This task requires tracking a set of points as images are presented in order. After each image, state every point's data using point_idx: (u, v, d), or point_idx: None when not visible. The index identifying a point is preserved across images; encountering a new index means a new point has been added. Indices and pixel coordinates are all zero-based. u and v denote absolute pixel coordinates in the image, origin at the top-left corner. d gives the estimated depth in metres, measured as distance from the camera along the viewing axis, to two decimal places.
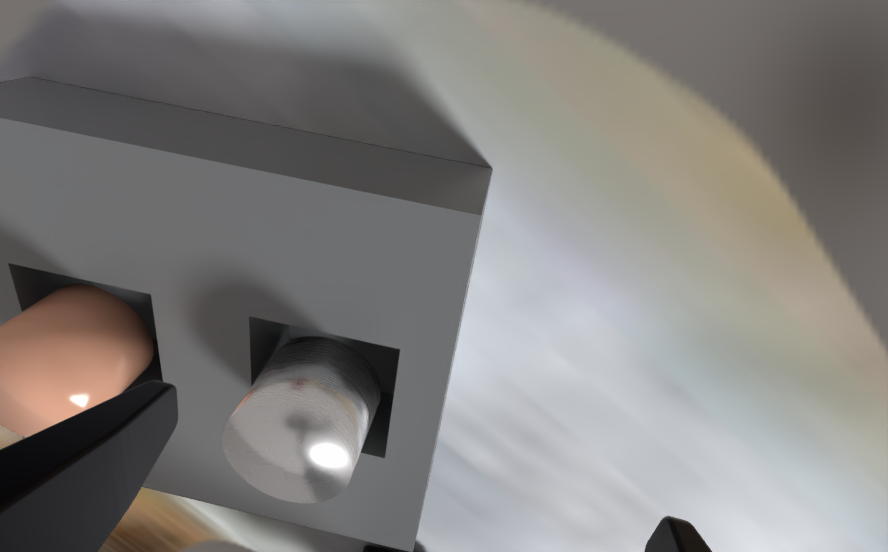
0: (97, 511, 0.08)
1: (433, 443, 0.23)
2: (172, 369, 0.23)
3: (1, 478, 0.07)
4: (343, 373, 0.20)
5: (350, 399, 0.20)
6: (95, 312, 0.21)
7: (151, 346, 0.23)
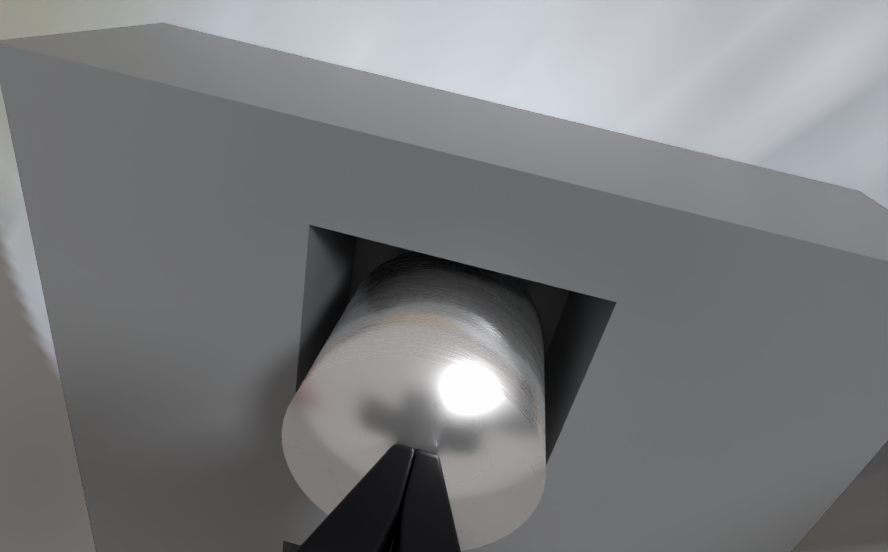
0: None
1: (569, 186, 0.09)
2: None
3: None
4: (348, 309, 0.11)
5: (357, 314, 0.10)
6: None
7: None
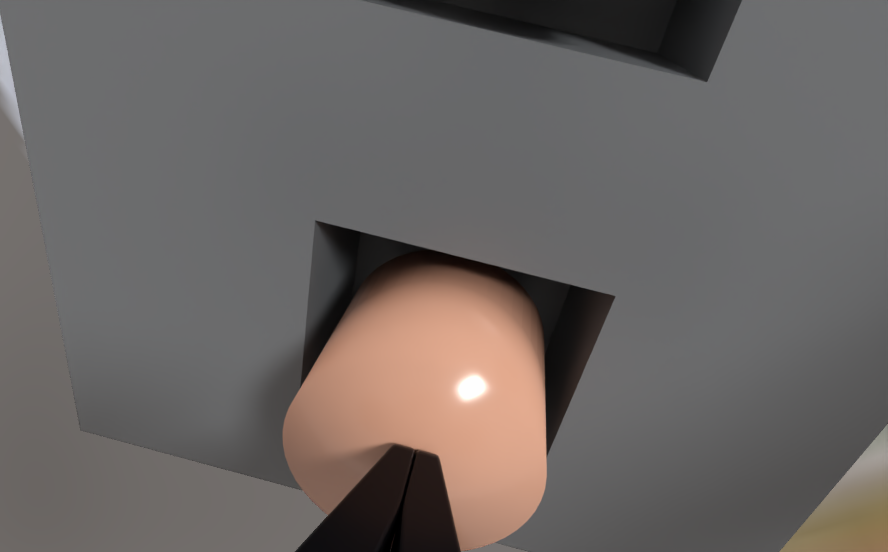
0: None
1: None
2: (503, 242, 0.10)
3: None
4: None
5: None
6: (350, 306, 0.12)
7: None
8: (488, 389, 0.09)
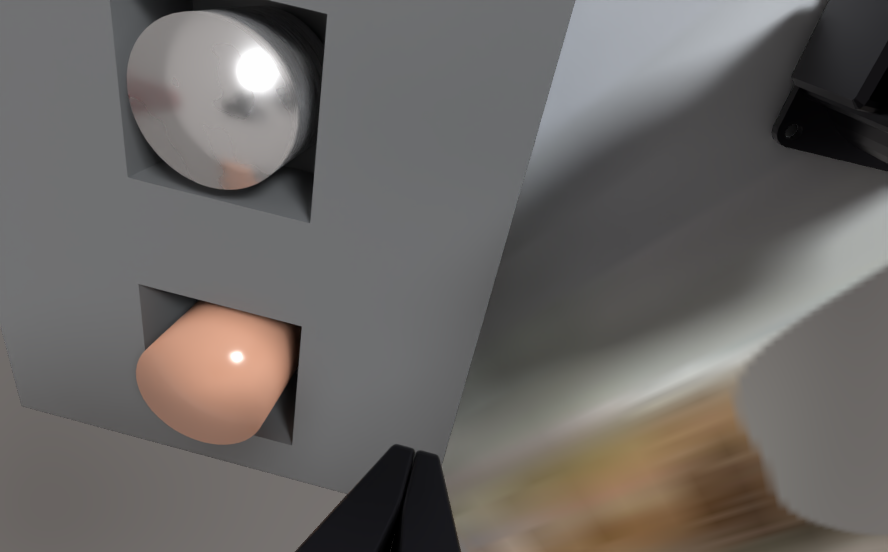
0: None
1: None
2: (237, 297, 0.19)
3: None
4: None
5: None
6: None
7: None
8: (224, 354, 0.18)
